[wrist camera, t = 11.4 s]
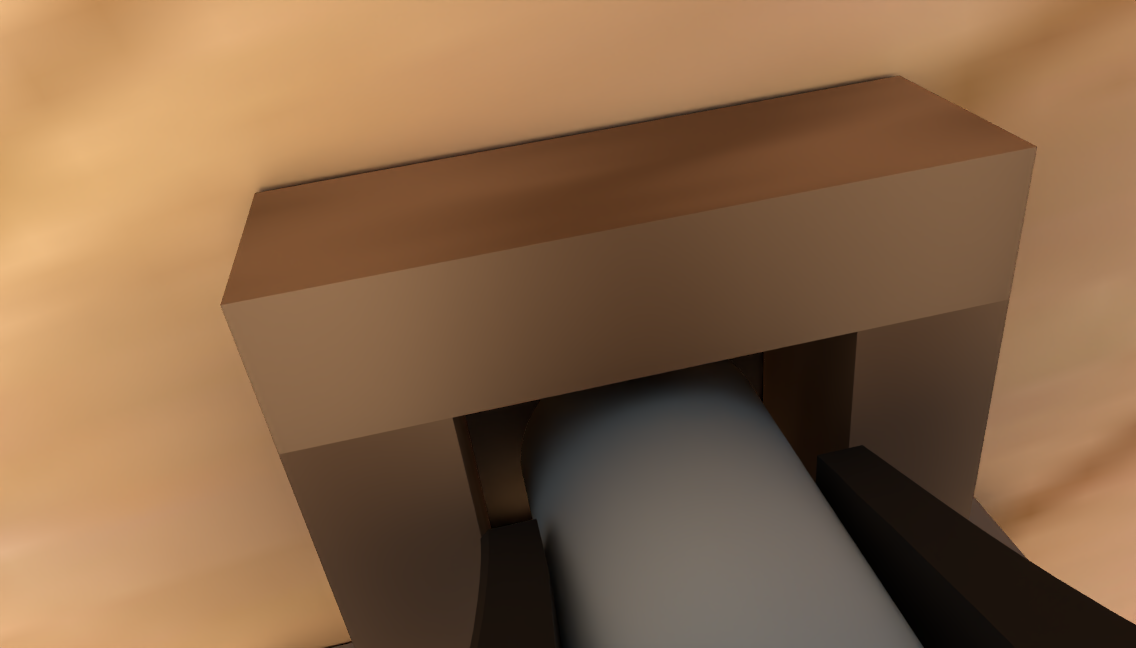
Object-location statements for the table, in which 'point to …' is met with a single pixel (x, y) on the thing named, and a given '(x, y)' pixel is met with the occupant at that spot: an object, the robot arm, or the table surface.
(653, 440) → the dowel
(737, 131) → the brown square frame
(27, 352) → the table surface
